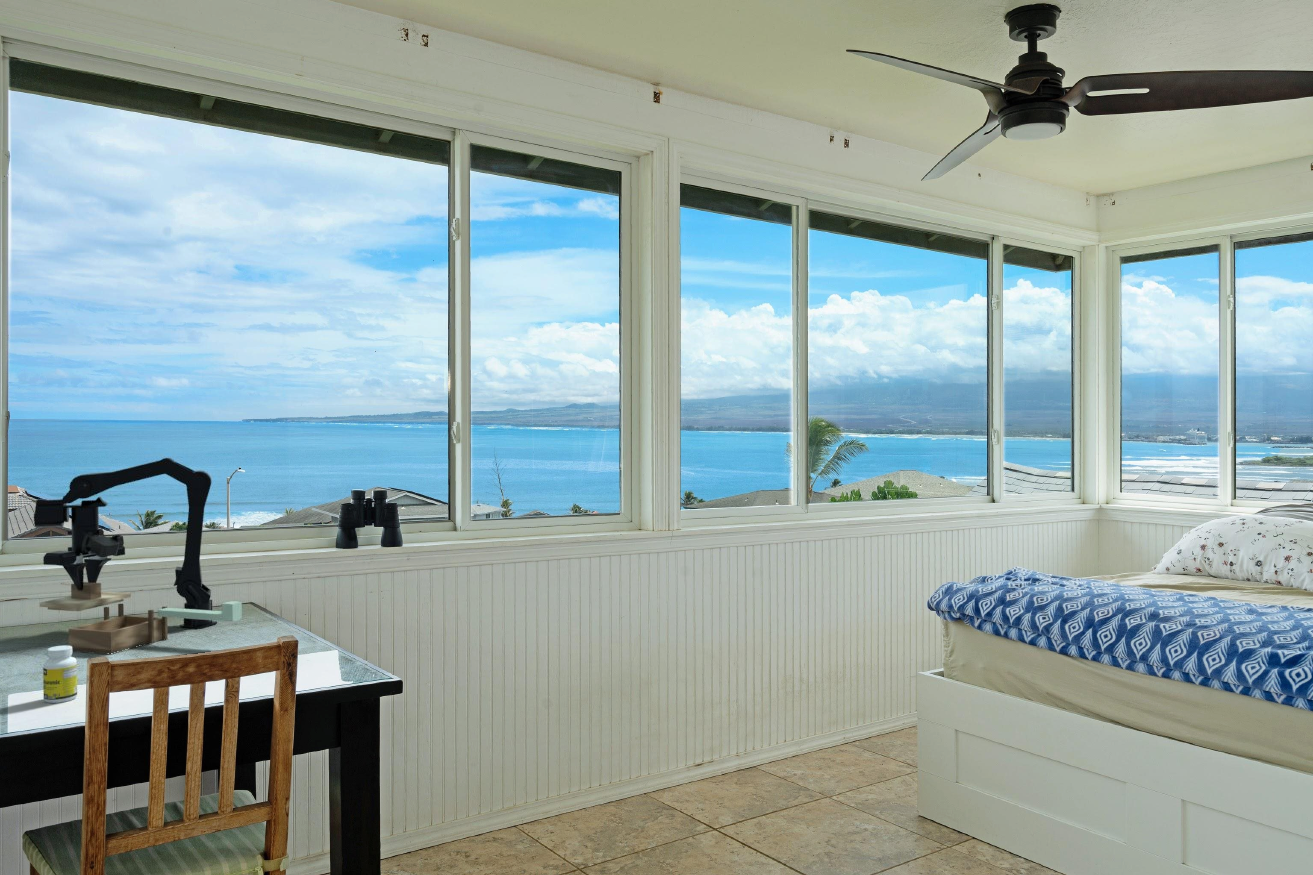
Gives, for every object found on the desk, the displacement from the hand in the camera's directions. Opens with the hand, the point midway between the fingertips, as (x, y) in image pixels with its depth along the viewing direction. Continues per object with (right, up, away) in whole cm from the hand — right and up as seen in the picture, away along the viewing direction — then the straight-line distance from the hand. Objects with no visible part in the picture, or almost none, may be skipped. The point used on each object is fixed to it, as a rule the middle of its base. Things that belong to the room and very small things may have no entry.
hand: (86, 589), depth 231 cm
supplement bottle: (+27, -12, -53) cm, 61 cm away
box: (+14, -11, -10) cm, 20 cm away
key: (+33, -5, -10) cm, 35 cm away
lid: (0, -3, 0) cm, 3 cm away
